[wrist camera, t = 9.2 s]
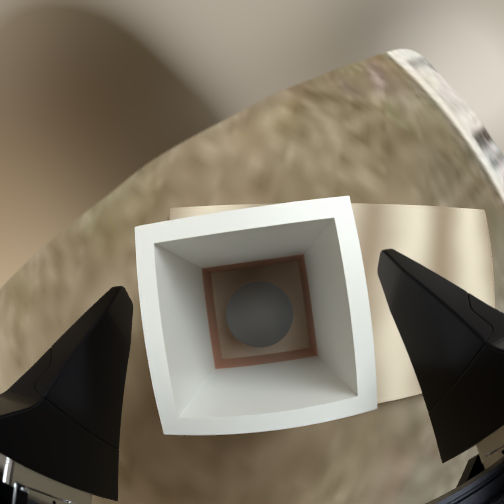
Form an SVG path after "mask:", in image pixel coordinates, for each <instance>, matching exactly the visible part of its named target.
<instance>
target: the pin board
mask: <svg viewBox="0 0 504 504" xmlns="http://www.w3.org/2000/svg"><path fill="white" fill-rule="evenodd" d="M266 205H274V204H245V205H219V206H199V207H182V208H170V220H175V219H181V218H187V217H193V216H199V215H205V214H211V213H218V212H224V211H231V210H238V209H244V208H251V207H259V206H266ZM351 206H352V210H353V215H354V219H355V224H356V229H357V233H358V238H359V243H360V249H361V254H362V260H363V265H364V271H365V278H366V284H367V291H368V298H369V305H370V313H371V322H372V331H373V341H374V352H375V366H376V384H377V403H382V402H387V401H392V400H397V399H401V398H406V397H410V396H414V395H418V394H422V391H421V388H420V385H419V383H418V380H417V377H416V374H415V371H414V369H413V366H412V363H411V361H410V358H409V356H408V353H407V351H406V348H405V345H404V343H403V341H402V338H401V336H400V333H399V331H398V329H397V326H396V324H395V321H394V319H393V317H392V315H391V312H390V309H389V307H388V304H387V301H386V297H385V294H384V291H383V288H382V285H381V283H380V280H379V277H378V273H377V268H378V262H379V256H380V252H381V251H382V250H384V249H394V250H396V251H398V252H399V253H401V254H403V255H405V256H407V257H409V258H410V259H412V260H414V261H416V262H418V263H419V264H421V265H423V266H425V267H426V268H428V269H430V270H432V271H433V272H435V273H437V274H439V275H440V276H442V277H444V278H445V279H447V280H449V281H450V282H452V283H454V284H455V285H457V286H459V287H460V288H462V289H464V290H465V291H467V293H470V294H472V295H473V296H475V297H476V298H478V299H480V300H481V301H483V302H485V303H486V304H488V305H490V306H491V307H493V308H495V296H494V276H493V263H492V254H491V245H490V238H489V231H488V225H487V219H486V214H485V210H478V209H466V208H452V207H436V206H417V205H393V204H353V203H351ZM211 279H212V287H213V295H214V303H215V311H216V319H217V326H218V333H219V340H220V347H221V354H222V359H230V358H240V357H249V356H257V355H265V354H272V353H279V352H286V351H292V350H299V349H305V348H310V343H309V335H308V327H307V319H306V312H305V305H304V298H303V291H302V284H301V277H300V270H299V264H298V261H294V262H287V263H280V264H273V265H266V266H258V267H251V268H244V269H237V270H229V271H222V272H214V273H211Z"/></svg>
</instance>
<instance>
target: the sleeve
mask: <svg viewBox="0 0 504 504" xmlns="http://www.w3.org/2000/svg"><path fill="white" fill-rule="evenodd" d="M135 242H136V261H137V275H138V287H139V298H140V307H141V316H142V324H143V331H144V338H145V345H146V351H147V357H148V363H149V369H150V374H151V380H152V385H153V390H154V394H155V399H156V404H157V408H158V412H159V417H160V421H161V425H162V429H163V433H164V434H166V435H224V434H241V433H253V432H263V431H272V430H280V429H287V428H294V427H300V426H306V425H311V424H317V423H322V422H327V421H331V420H336V419H340V418H344V417H349V416H353V415H356V414H360V413H364V412H367V411H371V410H374V409H377V384H376V366H375V352H374V341H373V331H372V322H371V313H370V305H369V298H368V291H367V284H366V278H365V271H364V265H363V260H362V254H361V249H360V243H359V238H358V233H357V229H356V224H355V219H354V215H353V210H352V206H351V202H350V197H349V196H342V197H332V198H323V199H314V200H306V201H297V202H289V203H281V204H274V205H266V206H259V207H251V208H244V209H238V210H231V211H224V212H218V213H211V214H205V215H199V216H193V217H187V218H181V219H175V220H169V221H164V222H158V223H153V224H147V225H142V226H136V227H135ZM294 261H298V264H299V270H300V277H301V284H302V291H303V298H304V305H305V312H306V319H307V327H308V335H309V343H310V348H305V349H299V350H292V351H286V352H279V353H272V354H265V355H257V356H249V357H240V358H230V359H222V354H221V347H220V340H219V333H218V326H217V319H216V311H215V303H214V295H213V287H212V279H211V273H214V272H222V271H229V270H237V269H244V268H251V267H258V266H266V265H273V264H280V263H287V262H294Z"/></svg>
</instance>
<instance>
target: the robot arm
mask: <svg viewBox="0 0 504 504" xmlns="http://www.w3.org/2000/svg"><path fill="white" fill-rule="evenodd" d="M377 273H378V277H379V280H380V283H381V285H382V288H383V291H384V294H385V297H386V301H387V304H388V307H389V309H390V312H391V315H392V317H393V319H394V321H395V324H396V326H397V329H398V331H399V333H400V336H401V338H402V341H403V343H404V345H405V348H406V351H407V353H408V356H409V358H410V361H411V363H412V366H413V369H414V371H415V374H416V377H417V380H418V383H419V385H420V388H421V391H422V394H423V397H424V400H425V403H426V406H427V410H428V412H429V416H430V420H431V423H432V427H433V430H434V434H435V437H436V441H437V445H438V448H439V452H440V456H441V460H442V463H444V462H446V461H448V460H450V459H452V458H454V457H456V456H457V455H459V454H461V453H463V452H465V451H466V450H468V449H470V448H471V447H473V446H475V445H476V447H477V450H478V453H479V454H477V455H476V456H474V457H473V458H471V459H469V460H468V463H467V465H466V467H465V470H464V472H463V474H462V477H461V479H460V481H459V483H458V485H457V487H456V488H455V489H453V490H451V491H450V492H448V493H446V494H444V495H442V496H440V497H438V498H436V499H434V500H432V501H430V502H428V503H426V504H504V313H502V312H500V311H499V310H497V309H495V308H493V307H491V306H490V305H488V304H486V303H485V302H483V301H481V300H480V299H478V298H476V297H475V296H473V295H472V294H470V293H467V291H465V290H464V289H462V288H460V287H459V286H457V285H455V284H454V283H452V282H450V281H449V280H447V279H445V278H444V277H442V276H440V275H439V274H437V273H435V272H433V271H432V270H430V269H428V268H426V267H425V266H423V265H421V264H419V263H418V262H416V261H414V260H412V259H410V258H409V257H407V256H405V255H403V254H401V253H399V252H398V251H396V250H394V249H384V250H382V251H381V252H380V256H379V262H378V268H377ZM132 317H133V304H132V301H131V299H130V297H129V295H128V293H127V291H126V289H125V288H124V287H123V286H115V287H112V288H111V289H110V290H109V291H108V292H107V293H105V294H104V295H103V296H102V297H101V298H100V299H99V300H98V301H97V302H96V303H95V304H94V305H93V306H92V307H91V308H90V309H89V310H87V311H86V312H85V313H84V314H83V315H82V316H81V317H80V318H79V319H78V320H77V321H76V322H75V323H74V324H73V325H72V326H71V327H70V328H69V329H68V330H67V331H66V332H65V333H64V334H63V335H62V336H61V337H60V338H59V339H58V340H57V341H56V342H55V343H54V344H53V345H52V348H50V349H49V350H48V351H47V352H46V353H45V354H44V355H43V356H42V357H41V358H40V359H39V360H38V361H37V362H36V363H35V364H34V365H33V366H32V367H31V368H30V369H29V370H28V371H27V372H26V373H25V374H24V375H23V376H22V377H20V378H19V379H18V380H17V381H16V382H15V383H14V384H13V385H12V386H11V387H10V388H9V389H8V390H7V391H5V392H4V393H2V394H0V504H91V501H92V495H96V496H99V497H103V498H106V499H110V500H114V501H118V463H119V450H118V449H119V439H120V425H121V414H122V404H123V395H124V386H125V378H126V371H127V364H128V358H129V351H130V344H131V330H132Z"/></svg>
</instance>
